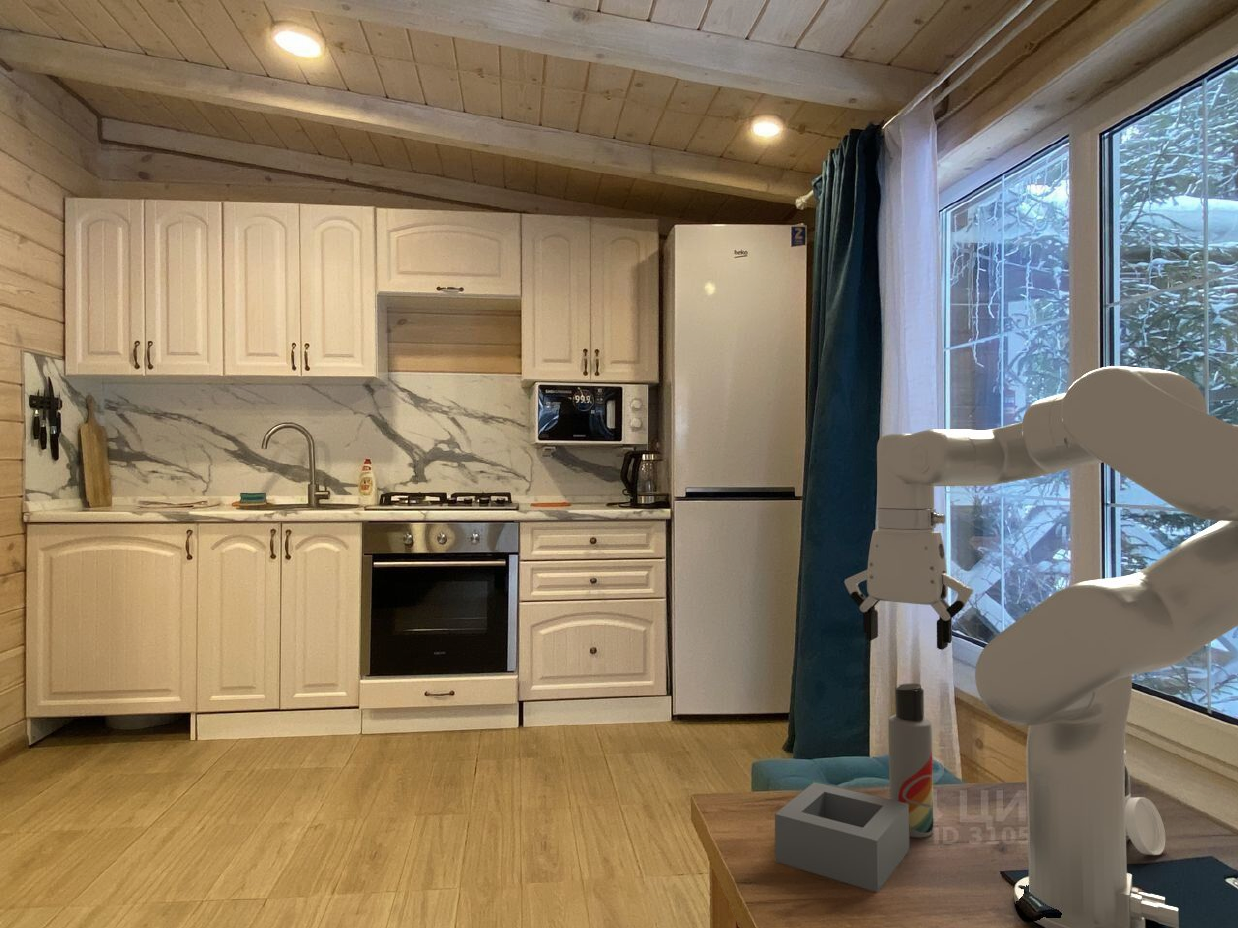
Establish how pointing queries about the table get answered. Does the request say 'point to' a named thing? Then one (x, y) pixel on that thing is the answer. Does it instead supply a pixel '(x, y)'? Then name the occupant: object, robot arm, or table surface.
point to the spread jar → (1142, 822)
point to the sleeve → (843, 835)
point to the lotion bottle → (911, 758)
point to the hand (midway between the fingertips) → (906, 643)
